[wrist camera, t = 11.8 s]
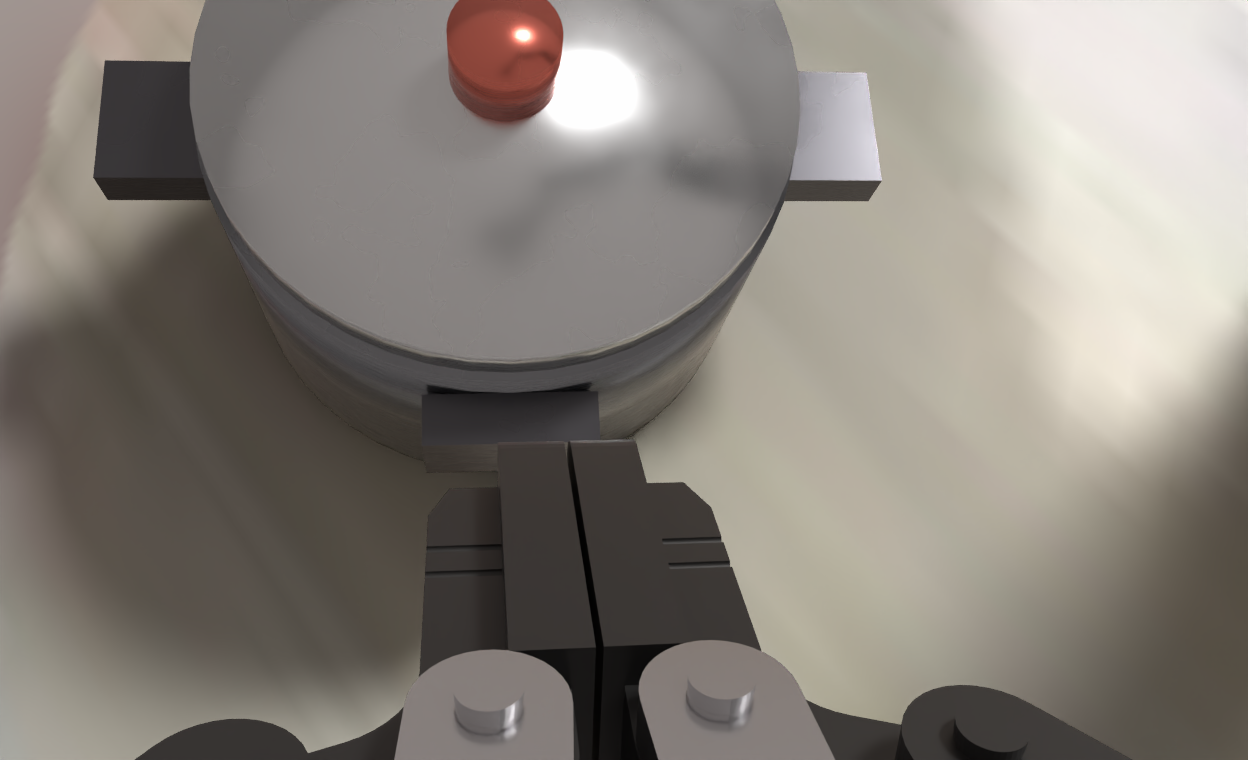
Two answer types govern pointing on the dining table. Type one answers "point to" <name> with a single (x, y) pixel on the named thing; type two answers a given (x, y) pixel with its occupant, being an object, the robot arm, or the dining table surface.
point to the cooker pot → (447, 397)
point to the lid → (497, 163)
